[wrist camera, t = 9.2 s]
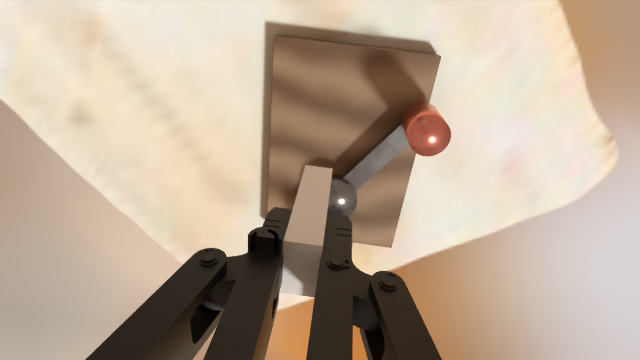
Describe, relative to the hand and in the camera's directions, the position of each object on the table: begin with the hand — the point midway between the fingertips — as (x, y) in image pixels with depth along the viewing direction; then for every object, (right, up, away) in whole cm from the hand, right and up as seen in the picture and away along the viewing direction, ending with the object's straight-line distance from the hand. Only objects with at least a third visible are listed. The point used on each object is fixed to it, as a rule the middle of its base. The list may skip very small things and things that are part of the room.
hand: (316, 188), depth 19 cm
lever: (+6, +3, +23) cm, 24 cm away
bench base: (+3, +4, +25) cm, 26 cm away
